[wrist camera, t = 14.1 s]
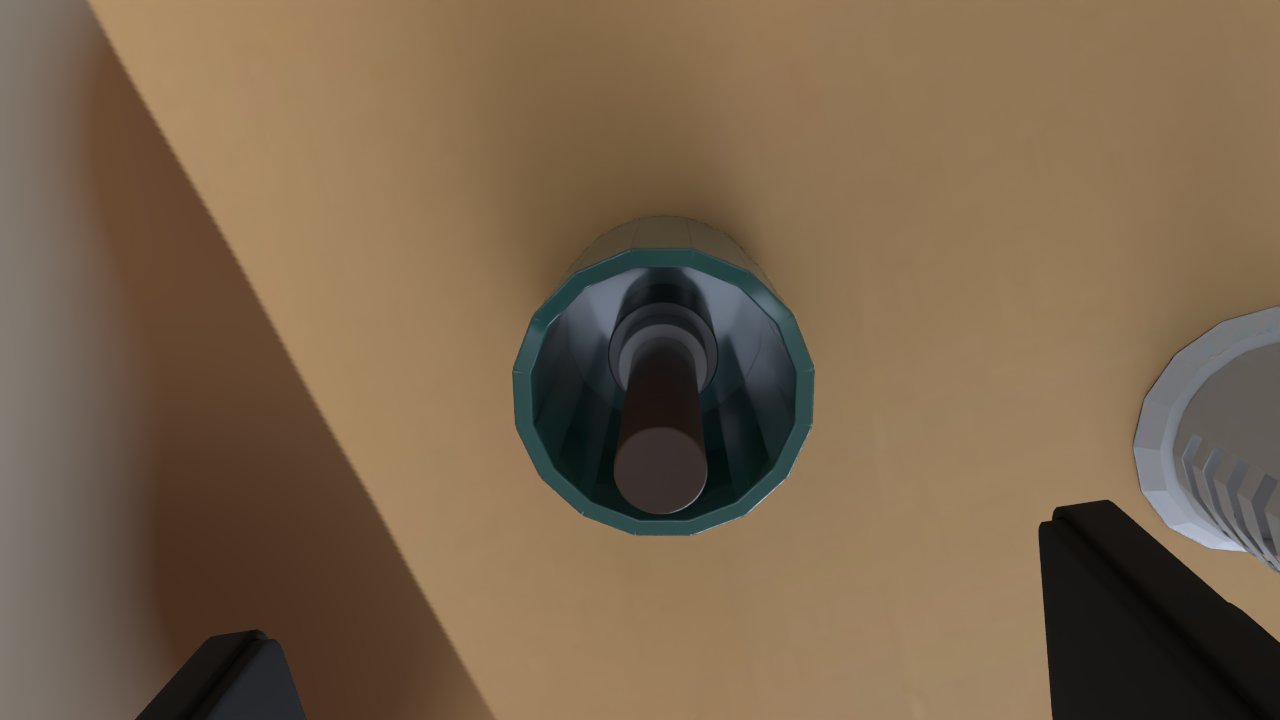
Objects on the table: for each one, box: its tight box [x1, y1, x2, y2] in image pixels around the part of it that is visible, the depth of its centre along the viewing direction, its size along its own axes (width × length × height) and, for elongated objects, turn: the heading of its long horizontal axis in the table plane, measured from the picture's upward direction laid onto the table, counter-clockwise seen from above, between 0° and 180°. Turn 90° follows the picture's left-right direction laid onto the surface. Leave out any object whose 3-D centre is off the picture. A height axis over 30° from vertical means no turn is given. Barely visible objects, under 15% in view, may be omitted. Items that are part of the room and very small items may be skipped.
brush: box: [608, 284, 719, 514], centre depth 25 cm, size 4×4×14 cm
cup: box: [512, 216, 815, 536], centre depth 28 cm, size 8×8×10 cm
